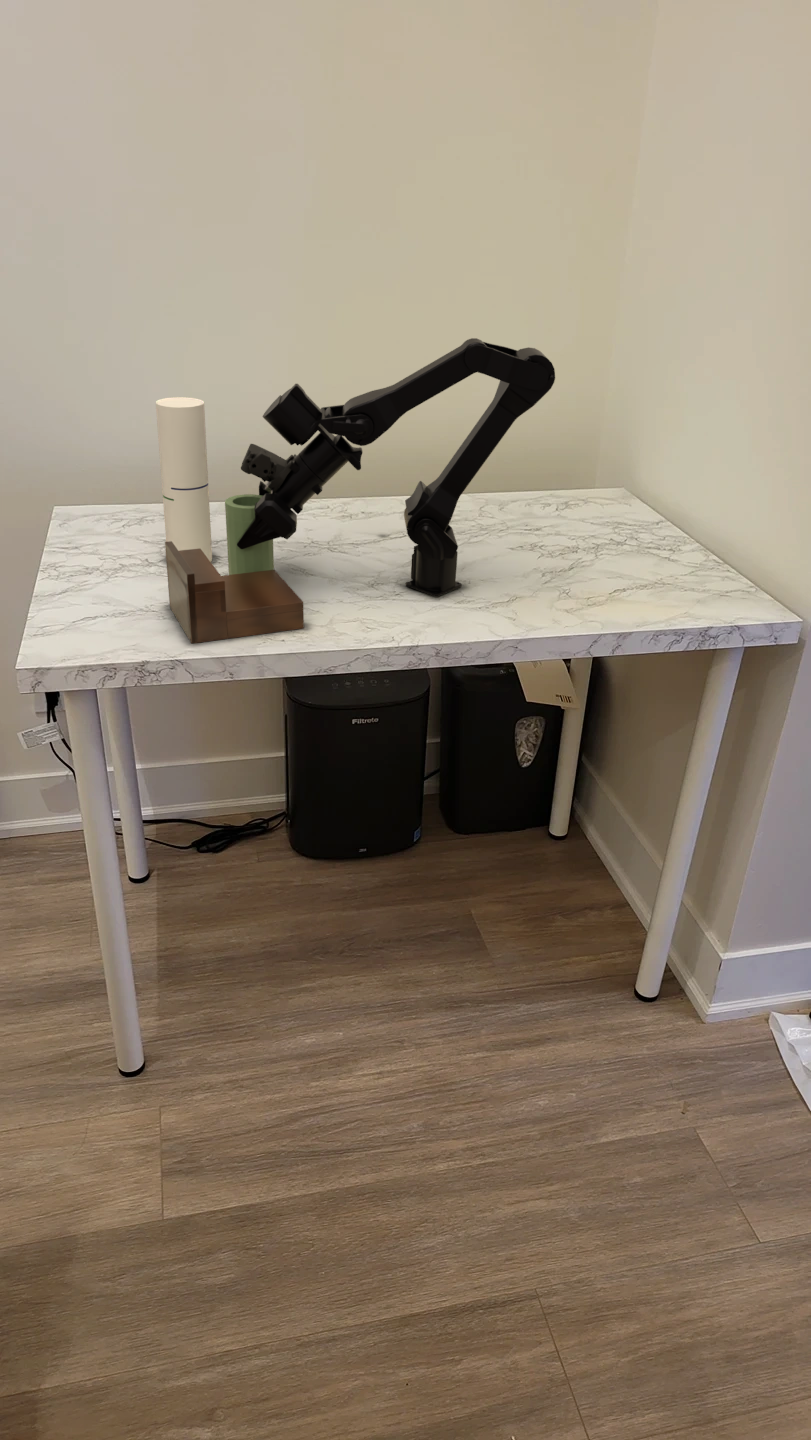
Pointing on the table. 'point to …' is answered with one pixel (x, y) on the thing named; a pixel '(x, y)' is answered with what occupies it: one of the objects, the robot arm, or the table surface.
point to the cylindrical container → (184, 473)
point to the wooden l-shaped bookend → (227, 599)
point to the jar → (236, 524)
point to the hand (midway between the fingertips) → (240, 538)
